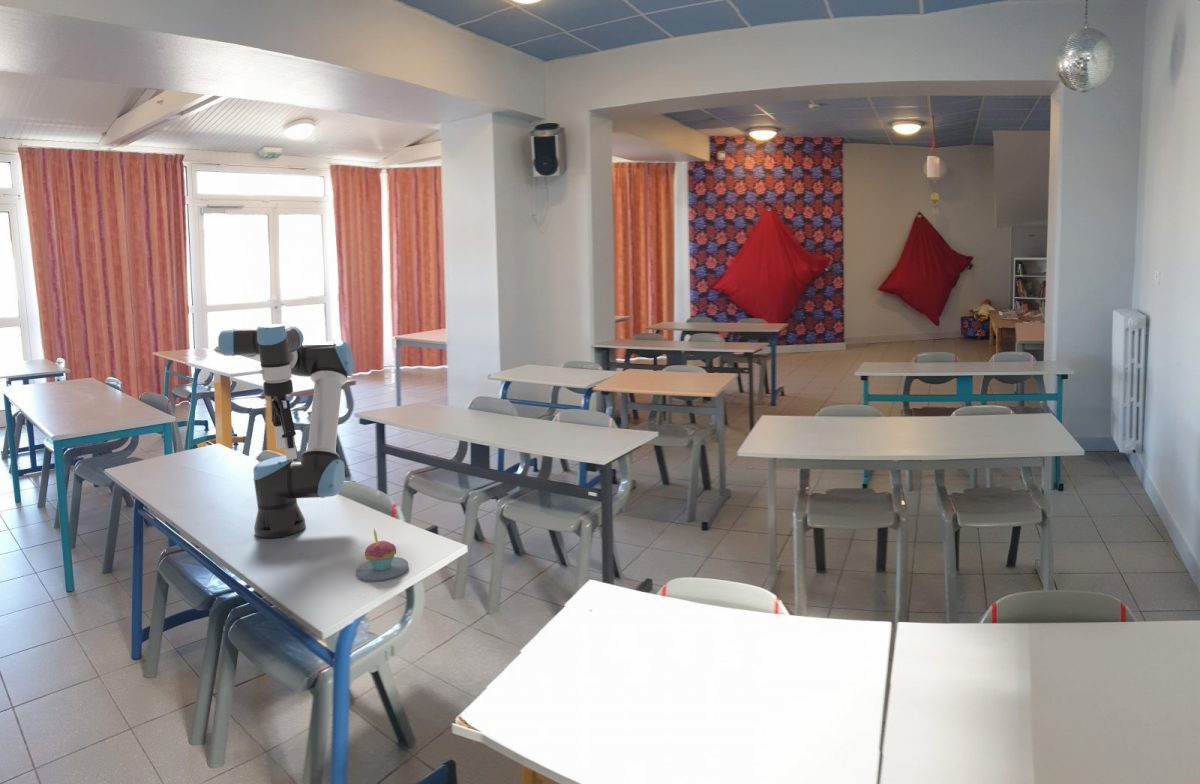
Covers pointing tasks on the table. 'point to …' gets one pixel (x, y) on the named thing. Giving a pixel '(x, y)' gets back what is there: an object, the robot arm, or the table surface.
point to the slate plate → (382, 571)
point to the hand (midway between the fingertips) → (286, 453)
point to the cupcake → (380, 554)
